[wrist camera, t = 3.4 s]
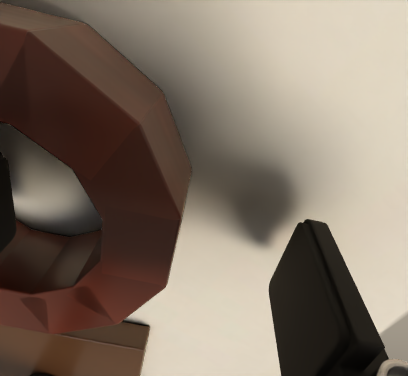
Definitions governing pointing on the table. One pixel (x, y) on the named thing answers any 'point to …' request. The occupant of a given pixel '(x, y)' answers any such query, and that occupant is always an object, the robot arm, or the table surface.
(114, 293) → the mahogany ring
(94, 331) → the post
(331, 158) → the table surface
